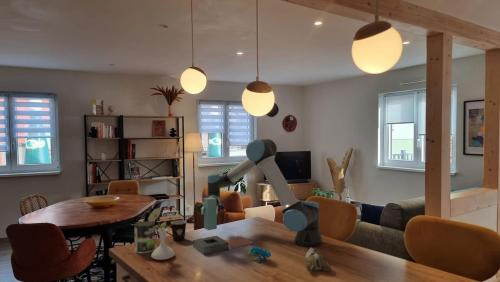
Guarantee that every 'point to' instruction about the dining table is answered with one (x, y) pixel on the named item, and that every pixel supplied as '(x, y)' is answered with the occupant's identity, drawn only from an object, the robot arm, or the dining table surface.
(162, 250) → the flower in vase
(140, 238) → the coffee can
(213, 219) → the peg
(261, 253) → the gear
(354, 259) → the dining table surface
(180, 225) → the coffee mug
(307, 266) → the ceramic sculpture
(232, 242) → the mat
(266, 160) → the robot arm
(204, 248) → the socket block
